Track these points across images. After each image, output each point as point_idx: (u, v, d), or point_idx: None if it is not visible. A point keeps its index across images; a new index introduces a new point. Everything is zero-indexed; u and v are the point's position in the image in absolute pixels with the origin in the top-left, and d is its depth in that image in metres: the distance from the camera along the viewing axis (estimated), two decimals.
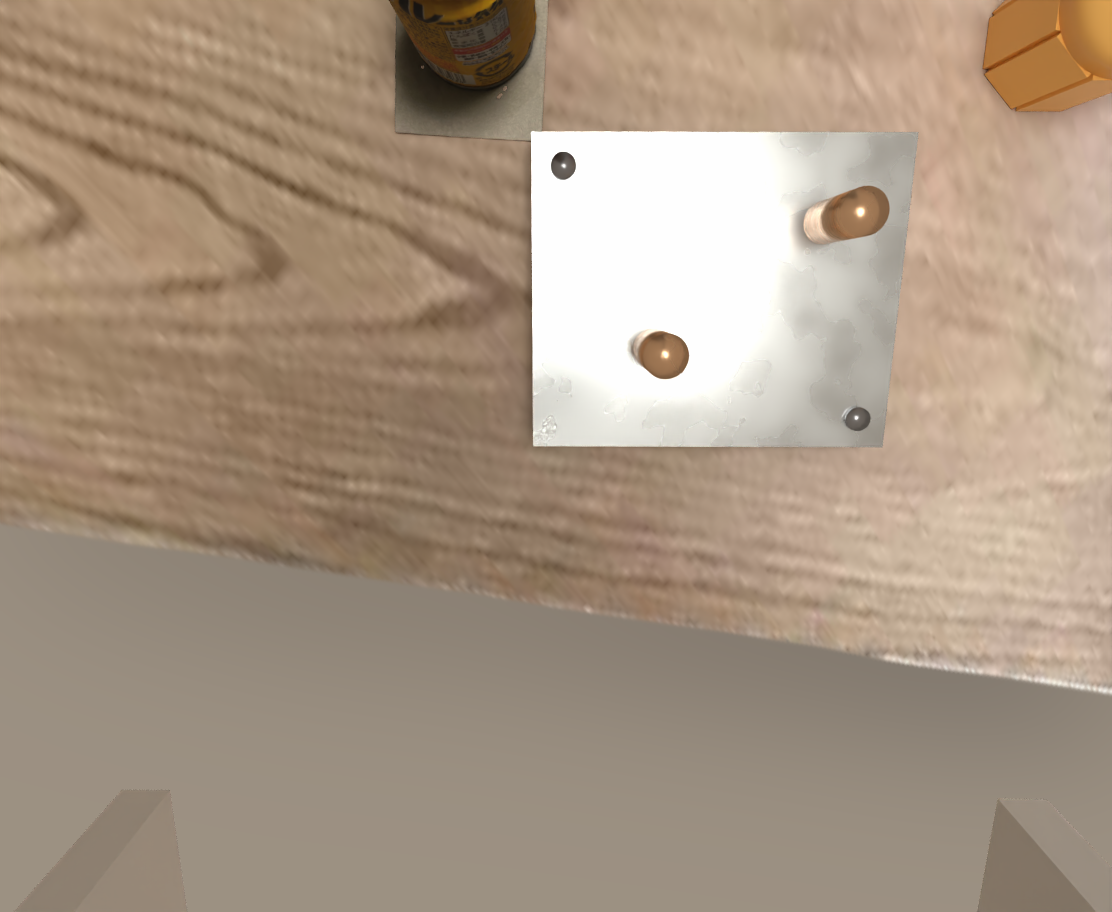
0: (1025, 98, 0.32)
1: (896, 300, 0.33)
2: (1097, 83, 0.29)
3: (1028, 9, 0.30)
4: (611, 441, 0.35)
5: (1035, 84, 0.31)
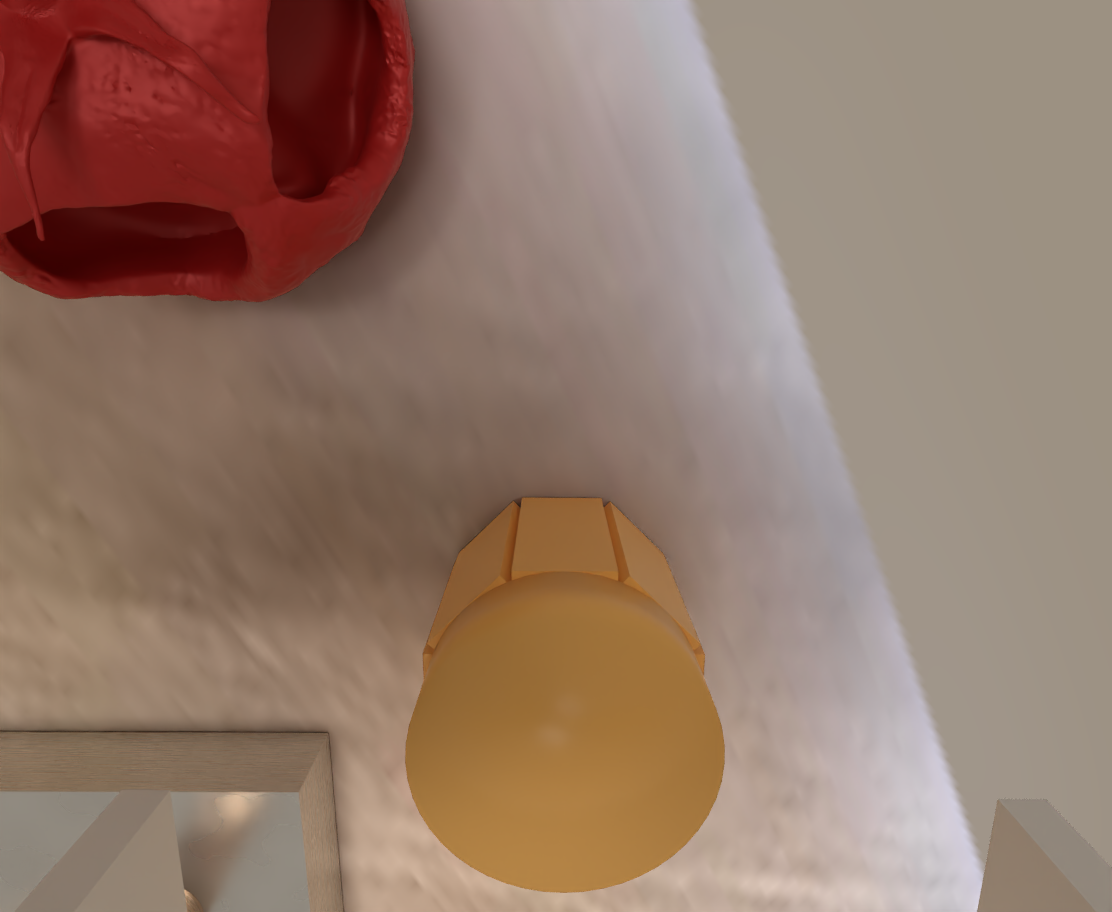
0: None
1: None
2: None
3: None
4: None
5: None
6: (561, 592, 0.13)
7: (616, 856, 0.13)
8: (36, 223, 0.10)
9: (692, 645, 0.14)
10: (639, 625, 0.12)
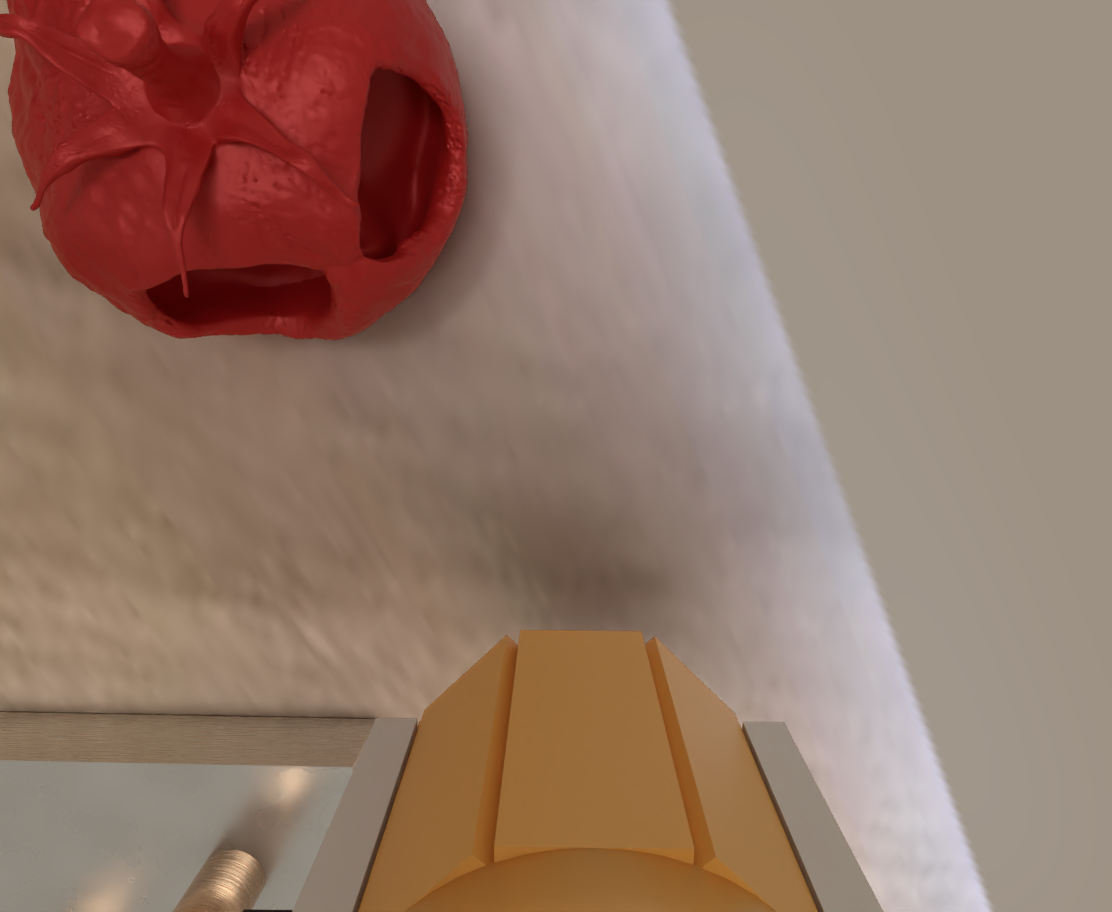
0: None
1: None
2: None
3: None
4: None
5: None
6: None
7: None
8: (183, 284, 0.13)
9: None
10: None
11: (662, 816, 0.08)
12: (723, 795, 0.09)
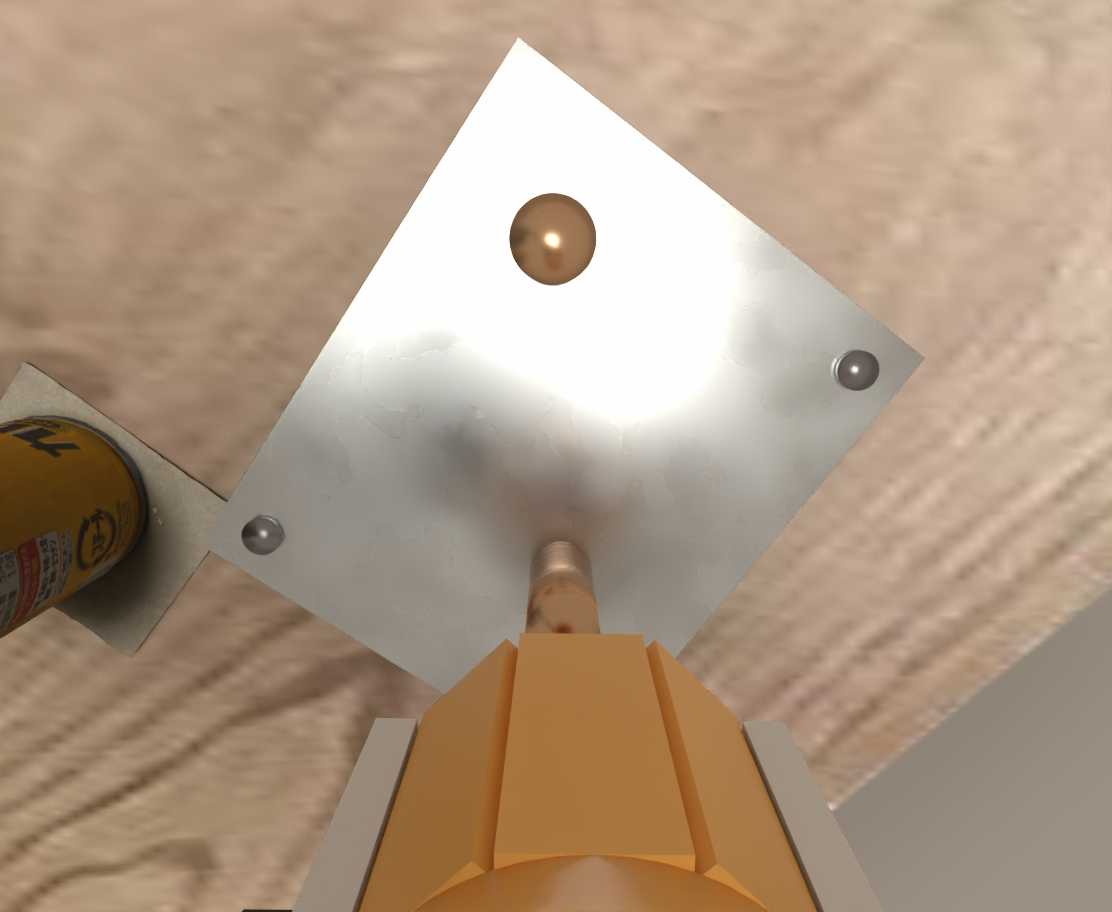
0: None
1: (733, 213, 0.20)
2: None
3: None
4: None
5: None
6: None
7: None
8: None
9: None
10: None
11: (663, 822, 0.08)
12: (724, 800, 0.09)
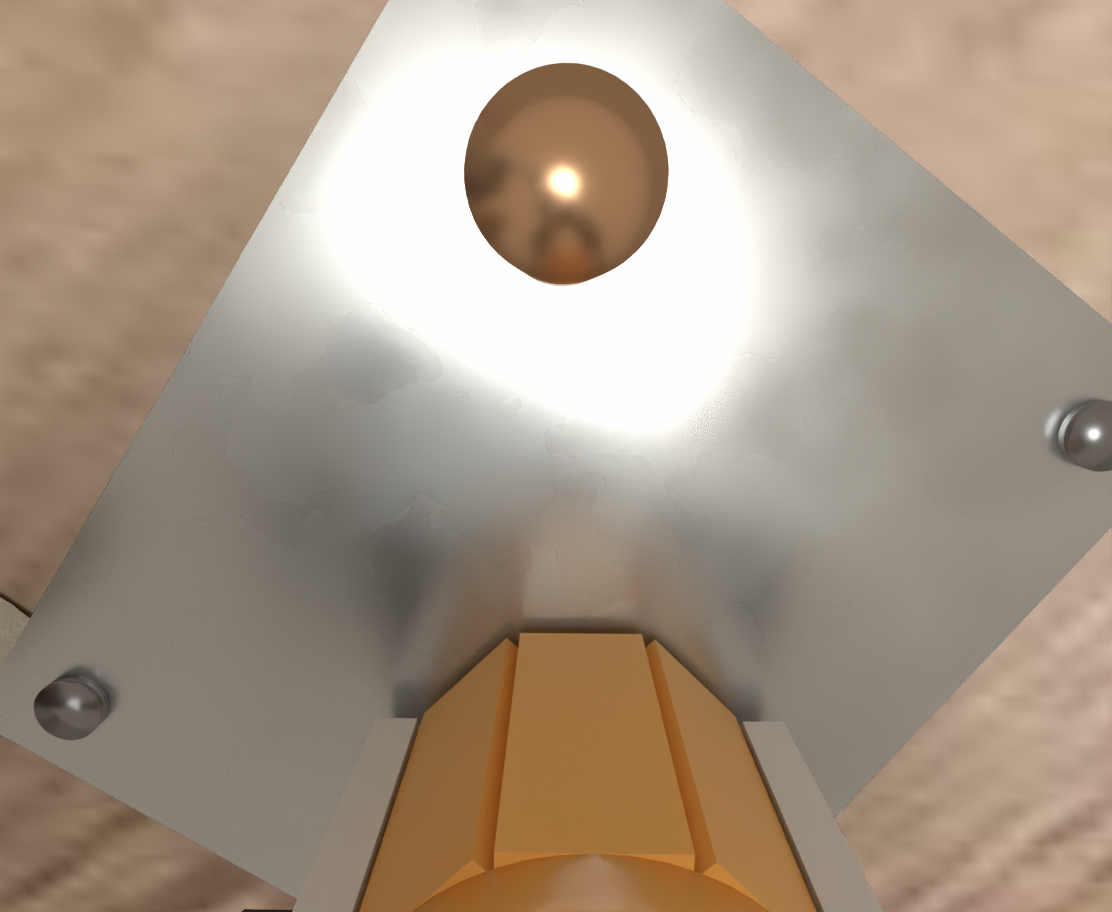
0: None
1: (892, 153, 0.11)
2: None
3: None
4: None
5: None
6: None
7: None
8: None
9: None
10: None
11: (663, 821, 0.08)
12: (724, 799, 0.09)
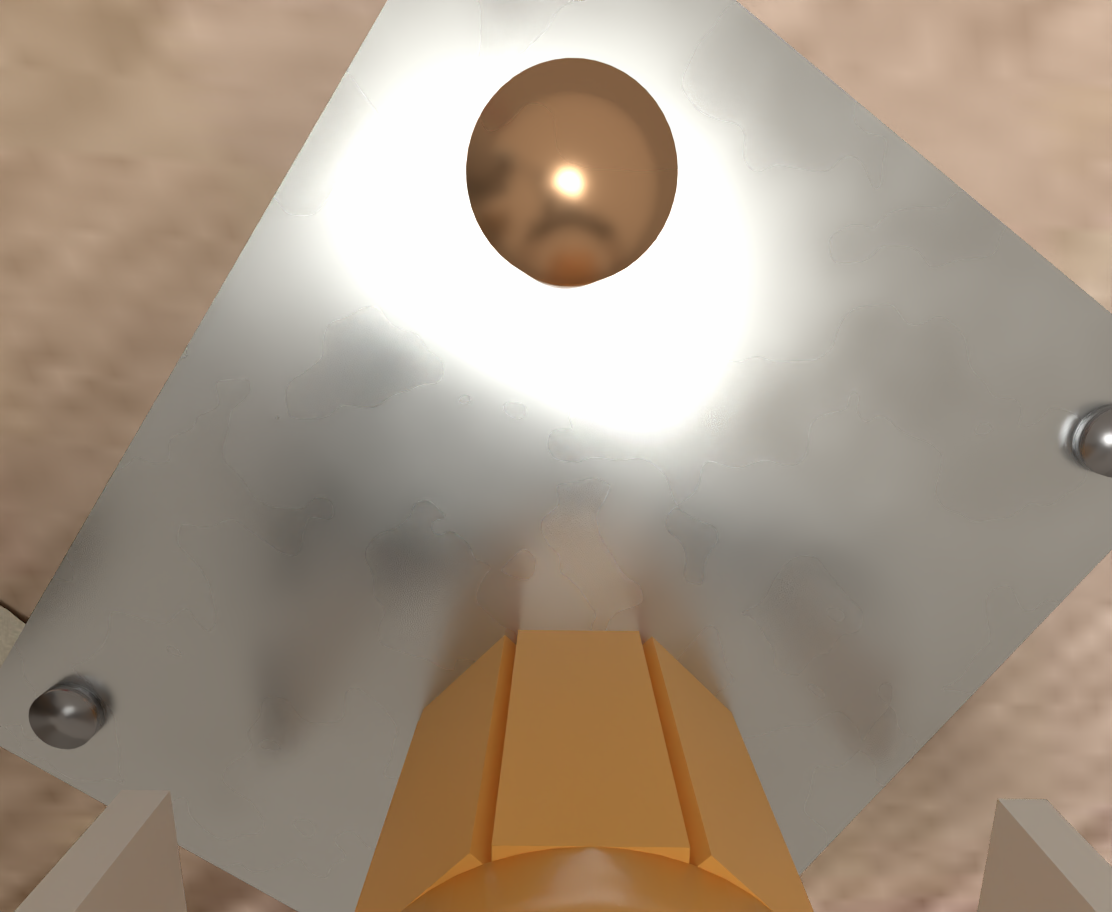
0: None
1: (903, 152, 0.11)
2: None
3: None
4: None
5: None
6: None
7: None
8: None
9: None
10: None
11: (658, 815, 0.08)
12: (719, 794, 0.09)
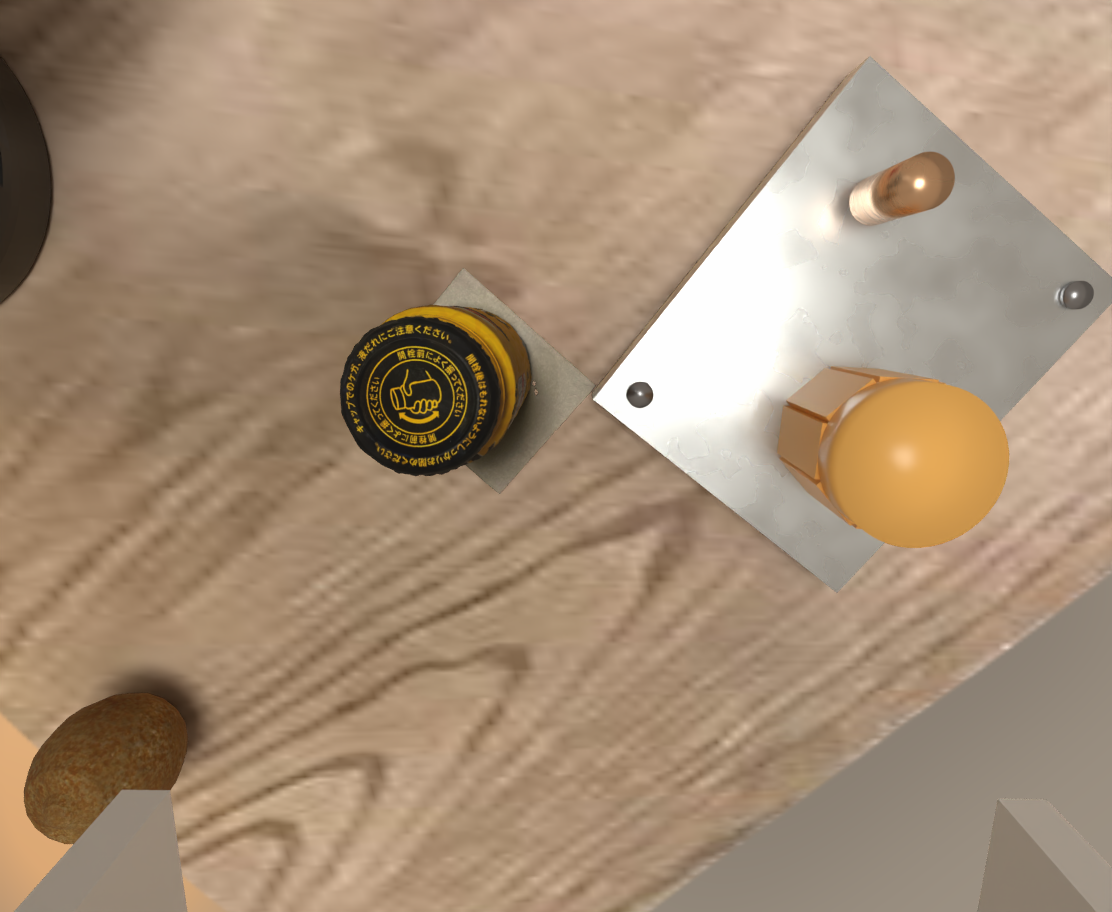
0: (814, 496, 0.30)
1: (1001, 180, 0.29)
2: None
3: (802, 432, 0.28)
4: None
5: (816, 496, 0.29)
6: (920, 380, 0.25)
7: (941, 526, 0.25)
8: None
9: None
10: None
11: (925, 378, 0.26)
12: None
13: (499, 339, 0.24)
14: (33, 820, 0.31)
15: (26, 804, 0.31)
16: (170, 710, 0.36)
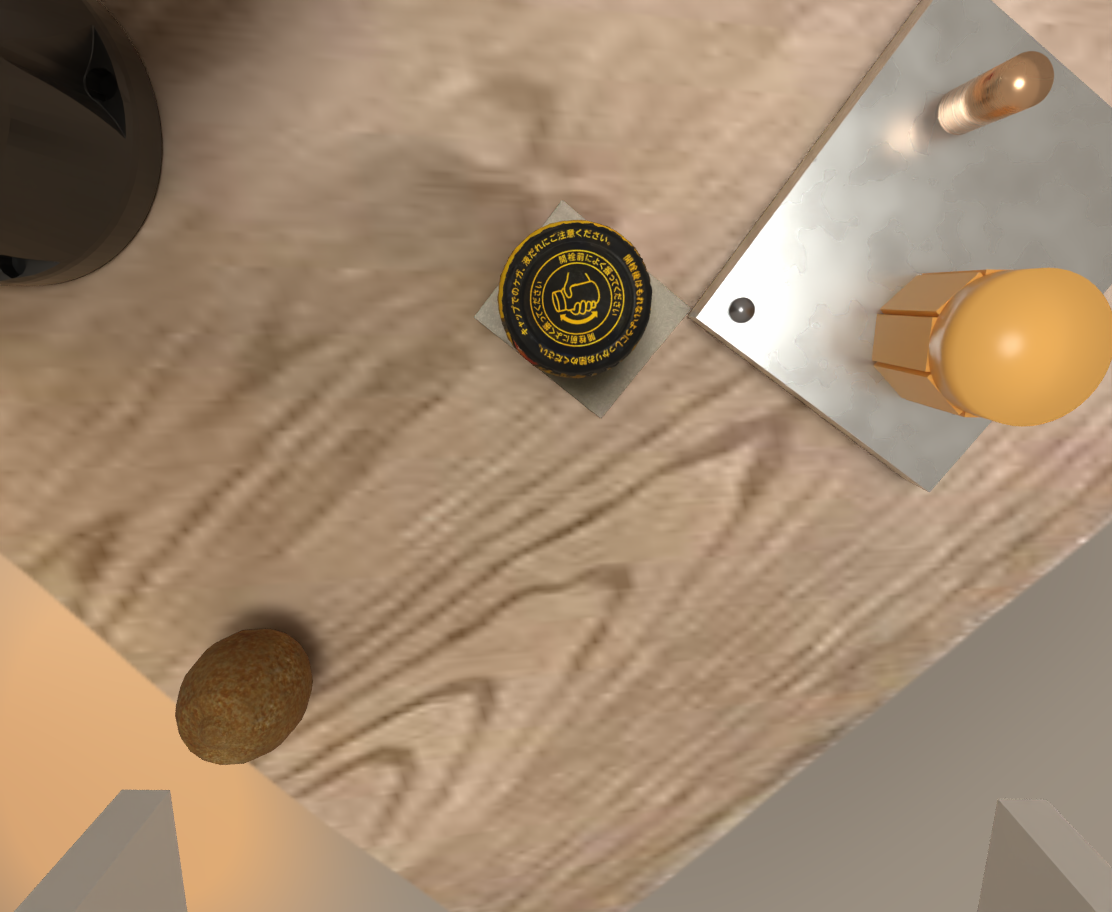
0: (911, 397, 0.32)
1: (1081, 85, 0.30)
2: None
3: (905, 332, 0.30)
4: (981, 425, 0.34)
5: (917, 394, 0.31)
6: None
7: (1052, 404, 0.26)
8: None
9: None
10: None
11: None
12: None
13: (635, 249, 0.26)
14: (188, 743, 0.33)
15: (180, 728, 0.33)
16: (295, 643, 0.37)
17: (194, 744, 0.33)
